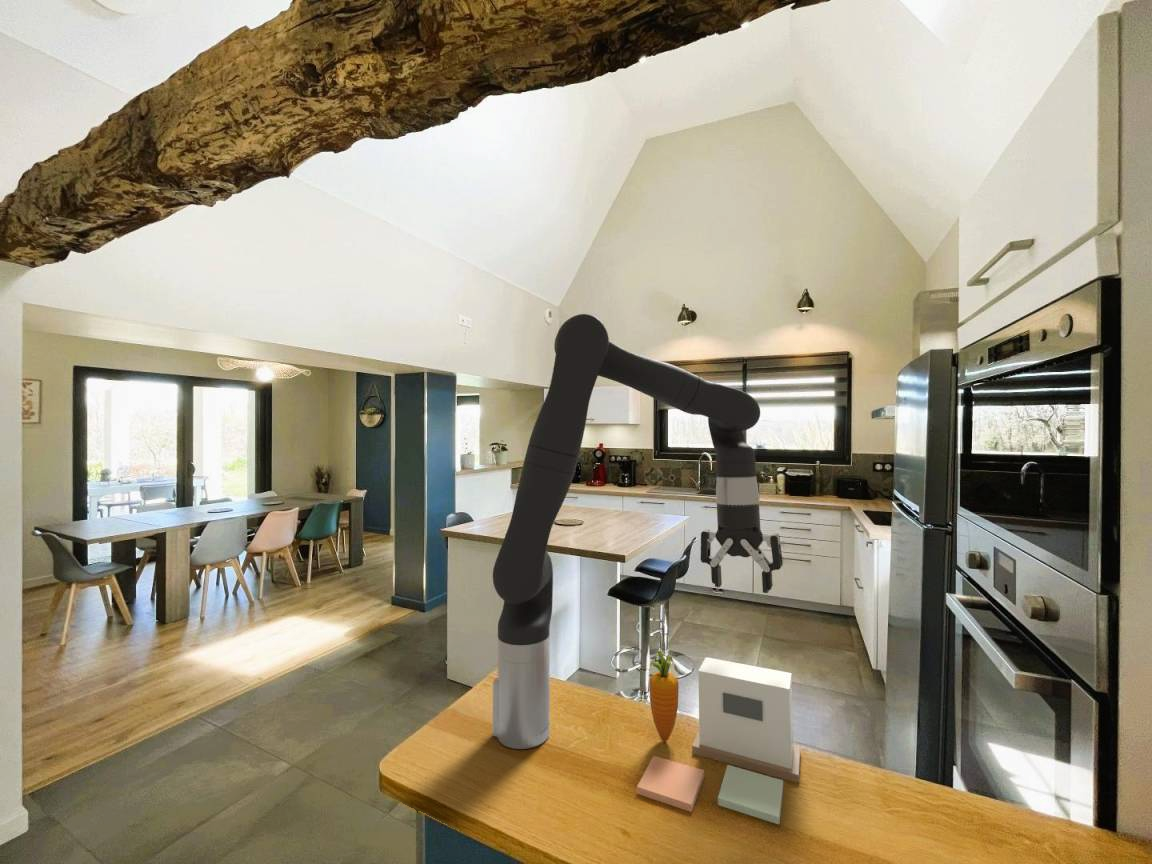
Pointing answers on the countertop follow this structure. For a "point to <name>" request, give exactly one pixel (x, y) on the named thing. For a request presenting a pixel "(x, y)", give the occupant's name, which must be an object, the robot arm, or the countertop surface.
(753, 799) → the sage tile
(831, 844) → the countertop surface
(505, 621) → the robot arm
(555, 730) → the countertop surface
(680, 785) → the terracotta tile
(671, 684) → the carrot
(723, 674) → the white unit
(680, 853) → the countertop surface
